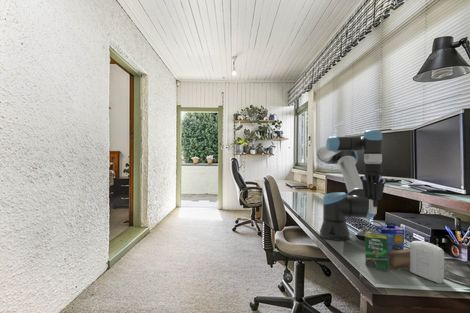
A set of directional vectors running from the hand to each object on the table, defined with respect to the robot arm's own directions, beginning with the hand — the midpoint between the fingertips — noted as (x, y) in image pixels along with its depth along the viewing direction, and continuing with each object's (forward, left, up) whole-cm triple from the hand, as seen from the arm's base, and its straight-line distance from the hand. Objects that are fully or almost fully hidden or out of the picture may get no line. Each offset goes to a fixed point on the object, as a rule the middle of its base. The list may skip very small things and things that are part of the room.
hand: (372, 213), depth 121 cm
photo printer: (+29, -5, -17) cm, 33 cm away
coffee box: (+17, -15, -17) cm, 28 cm away
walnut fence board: (+19, -1, -16) cm, 26 cm away
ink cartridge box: (+9, 0, -17) cm, 19 cm away
